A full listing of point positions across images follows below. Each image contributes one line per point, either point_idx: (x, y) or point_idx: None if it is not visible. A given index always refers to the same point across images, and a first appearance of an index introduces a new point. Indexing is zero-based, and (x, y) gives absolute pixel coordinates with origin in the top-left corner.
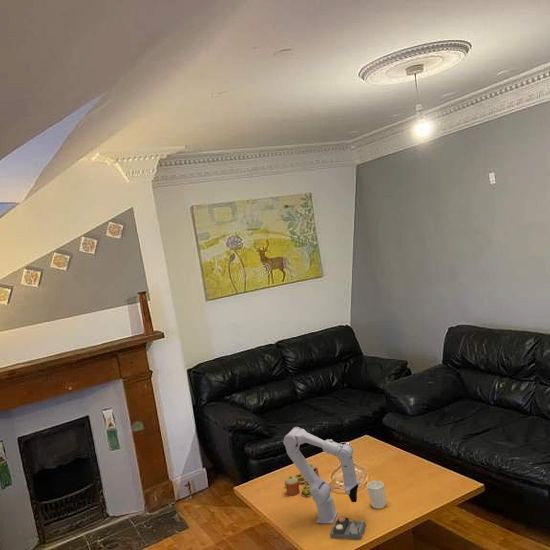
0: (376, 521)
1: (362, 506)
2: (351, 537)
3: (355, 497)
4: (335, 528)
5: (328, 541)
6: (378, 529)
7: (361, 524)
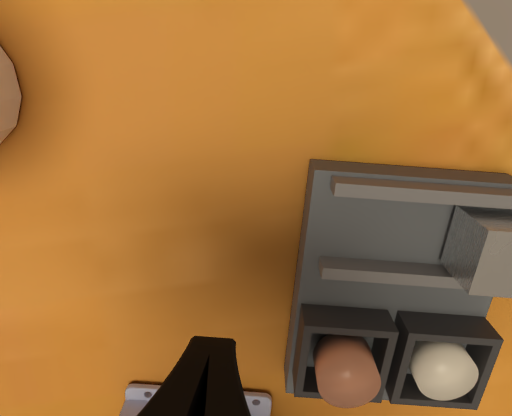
0: (235, 71)
1: (11, 227)
2: None
3: (242, 396)
4: None
5: None
6: (370, 33)
7: (410, 197)
